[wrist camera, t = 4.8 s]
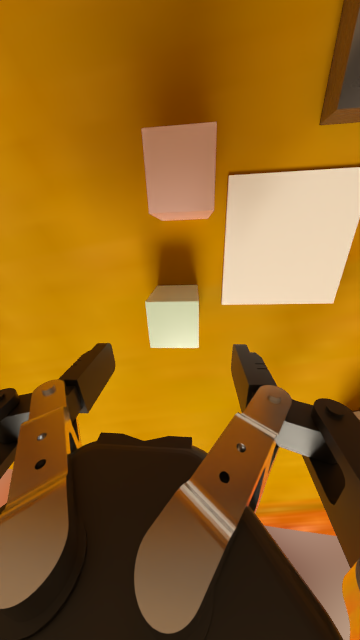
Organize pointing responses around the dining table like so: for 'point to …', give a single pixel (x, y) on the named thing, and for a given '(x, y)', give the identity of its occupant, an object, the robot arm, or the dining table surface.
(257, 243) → the plate
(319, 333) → the dining table surface
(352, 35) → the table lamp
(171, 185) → the block
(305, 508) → the dining table surface
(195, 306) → the pale green rectangular block
